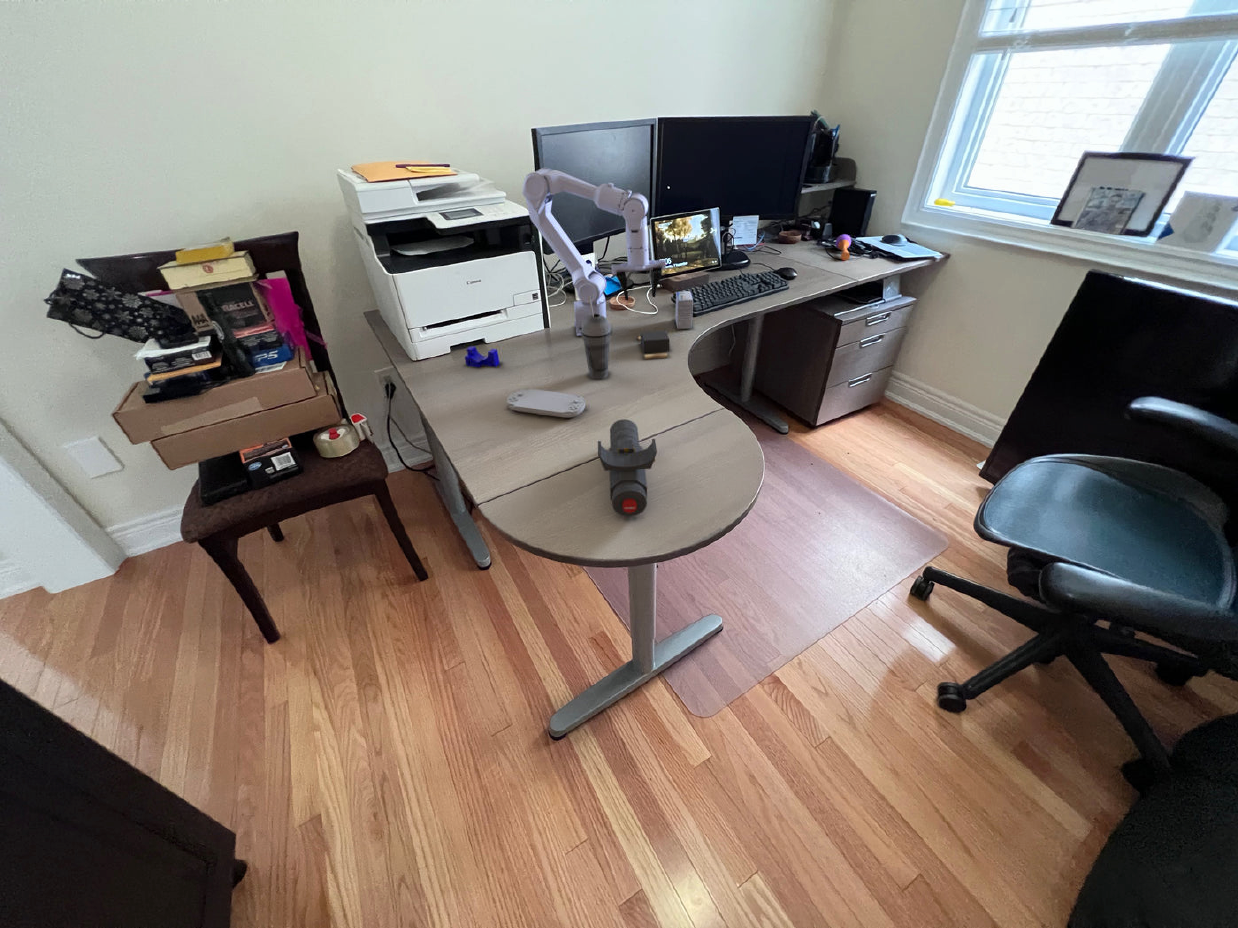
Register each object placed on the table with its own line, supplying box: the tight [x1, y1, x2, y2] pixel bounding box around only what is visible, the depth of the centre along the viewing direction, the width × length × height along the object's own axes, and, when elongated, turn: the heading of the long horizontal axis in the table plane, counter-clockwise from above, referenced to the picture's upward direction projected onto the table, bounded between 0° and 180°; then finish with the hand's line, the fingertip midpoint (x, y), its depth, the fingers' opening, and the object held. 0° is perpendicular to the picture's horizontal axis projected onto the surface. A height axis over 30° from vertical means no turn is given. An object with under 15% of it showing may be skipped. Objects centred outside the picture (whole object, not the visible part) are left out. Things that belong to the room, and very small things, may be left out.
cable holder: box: [464, 345, 501, 368], centre depth 129 cm, size 8×4×4 cm, turn 71°
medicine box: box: [674, 290, 694, 330], centre depth 146 cm, size 8×4×9 cm, turn 179°
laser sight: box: [597, 418, 658, 517], centre depth 88 cm, size 10×22×10 cm, turn 2°
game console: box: [506, 388, 586, 419], centre depth 111 cm, size 18×2×8 cm
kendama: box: [835, 234, 852, 262], centre depth 202 cm, size 6×6×20 cm
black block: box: [640, 330, 670, 354], centre depth 135 cm, size 7×6×4 cm
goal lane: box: [637, 336, 668, 360], centre depth 136 cm, size 6×14×1 cm, turn 6°
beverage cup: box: [581, 296, 612, 380], centre depth 118 cm, size 7×7×20 cm
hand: (640, 297), depth 138 cm, fingers open, 7 cm apart
